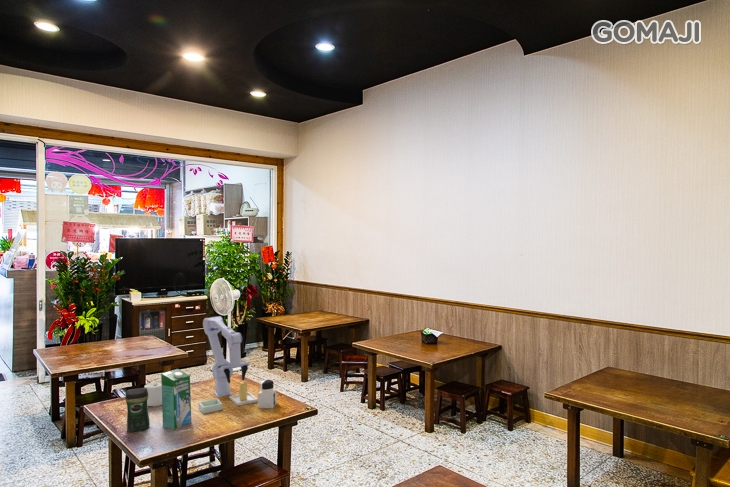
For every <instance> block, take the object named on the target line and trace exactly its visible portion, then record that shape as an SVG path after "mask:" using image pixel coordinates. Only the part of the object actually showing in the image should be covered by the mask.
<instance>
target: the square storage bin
mask: <svg viewBox="0 0 730 487" xmlns="http://www.w3.org/2000/svg"><path fill="white" fill-rule="evenodd" d="M197 403H198V409H199V411H200V412H201V413H202V414H208V413H213V412H214V413H215V412H218V411H222V410H223V409H224V408H223V402H221V400H220V399H219V397H218V398H212V399H207V400H202V401H198V402H197Z"/></svg>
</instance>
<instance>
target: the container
mask: <svg viewBox="0 0 730 487" xmlns="http://www.w3.org/2000/svg"><path fill="white" fill-rule="evenodd" d="M274 386H275V385H274V381H273V380H271V379H264V380H262V381H260V391H259V392H258V393H257V399H258V402H257V407H258V409H273V408H275V406H276V405H277V402H278V398H277V396H278V394H277V391H278V390H277V388H275V387H274Z"/></svg>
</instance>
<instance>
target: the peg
mask: <svg viewBox="0 0 730 487" xmlns="http://www.w3.org/2000/svg"><path fill="white" fill-rule="evenodd" d="M238 384H239V394H240V401H246V400H247V392H248V382H247V381H241V382H239V383H238Z"/></svg>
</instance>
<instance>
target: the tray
mask: <svg viewBox="0 0 730 487" xmlns="http://www.w3.org/2000/svg"><path fill="white" fill-rule="evenodd" d="M228 396H229V400H230V401H232V403H233V404H234V405H236V407H238V406H242V405H247V404H256V403H257V404H258V397H256V396H255V395H254V394H253V393H251V392H249V391H247V400H246V401H240V393H238V394H231V395H228Z"/></svg>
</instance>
